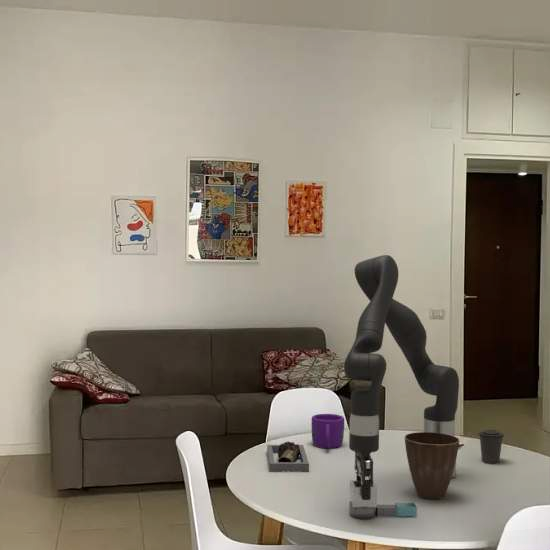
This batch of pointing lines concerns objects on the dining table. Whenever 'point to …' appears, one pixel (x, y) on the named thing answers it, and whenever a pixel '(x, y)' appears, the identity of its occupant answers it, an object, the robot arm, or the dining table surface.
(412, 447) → the plant pot
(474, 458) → the dining table surface
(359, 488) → the square metal tube
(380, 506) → the ratchet
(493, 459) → the coffee cup
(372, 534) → the dining table surface
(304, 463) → the gray rectangular tray
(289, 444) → the rough wooden branch
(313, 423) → the mug
